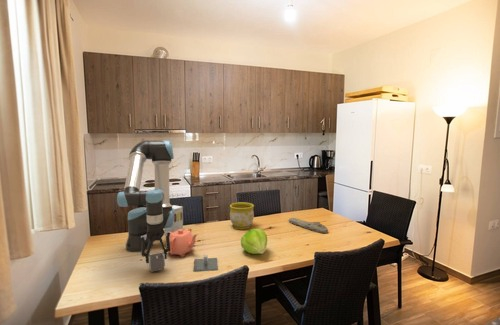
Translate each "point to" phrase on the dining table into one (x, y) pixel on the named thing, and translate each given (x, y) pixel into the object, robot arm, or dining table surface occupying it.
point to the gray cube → (157, 262)
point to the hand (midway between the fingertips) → (156, 266)
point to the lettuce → (254, 241)
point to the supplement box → (176, 219)
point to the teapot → (181, 242)
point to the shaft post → (205, 264)
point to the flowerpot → (241, 215)
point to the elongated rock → (309, 225)
